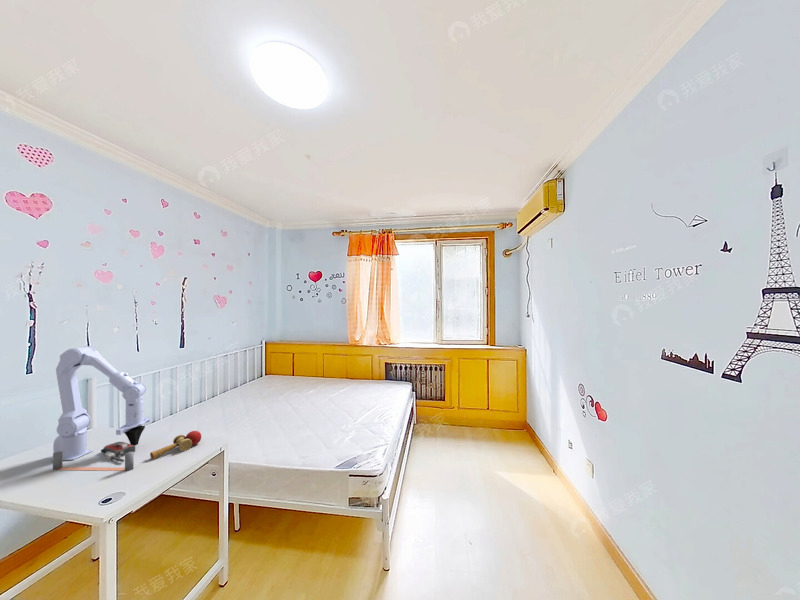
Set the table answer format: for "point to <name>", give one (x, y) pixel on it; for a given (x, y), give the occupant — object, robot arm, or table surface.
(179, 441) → the kendama
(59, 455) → the finish line
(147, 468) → the table surface
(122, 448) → the walkie-talkie
